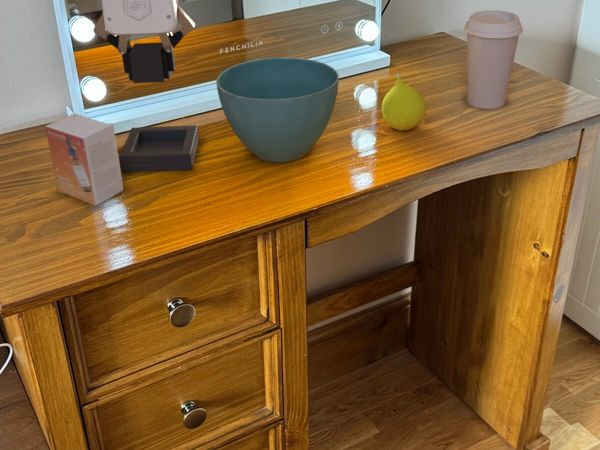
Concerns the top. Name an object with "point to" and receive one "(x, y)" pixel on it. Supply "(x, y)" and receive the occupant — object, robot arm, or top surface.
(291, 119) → the teal bowl
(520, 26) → the coffee cup
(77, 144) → the small box
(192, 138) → the small dark tray
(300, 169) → the top surface
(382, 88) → the top surface
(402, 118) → the ornament
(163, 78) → the black cube
